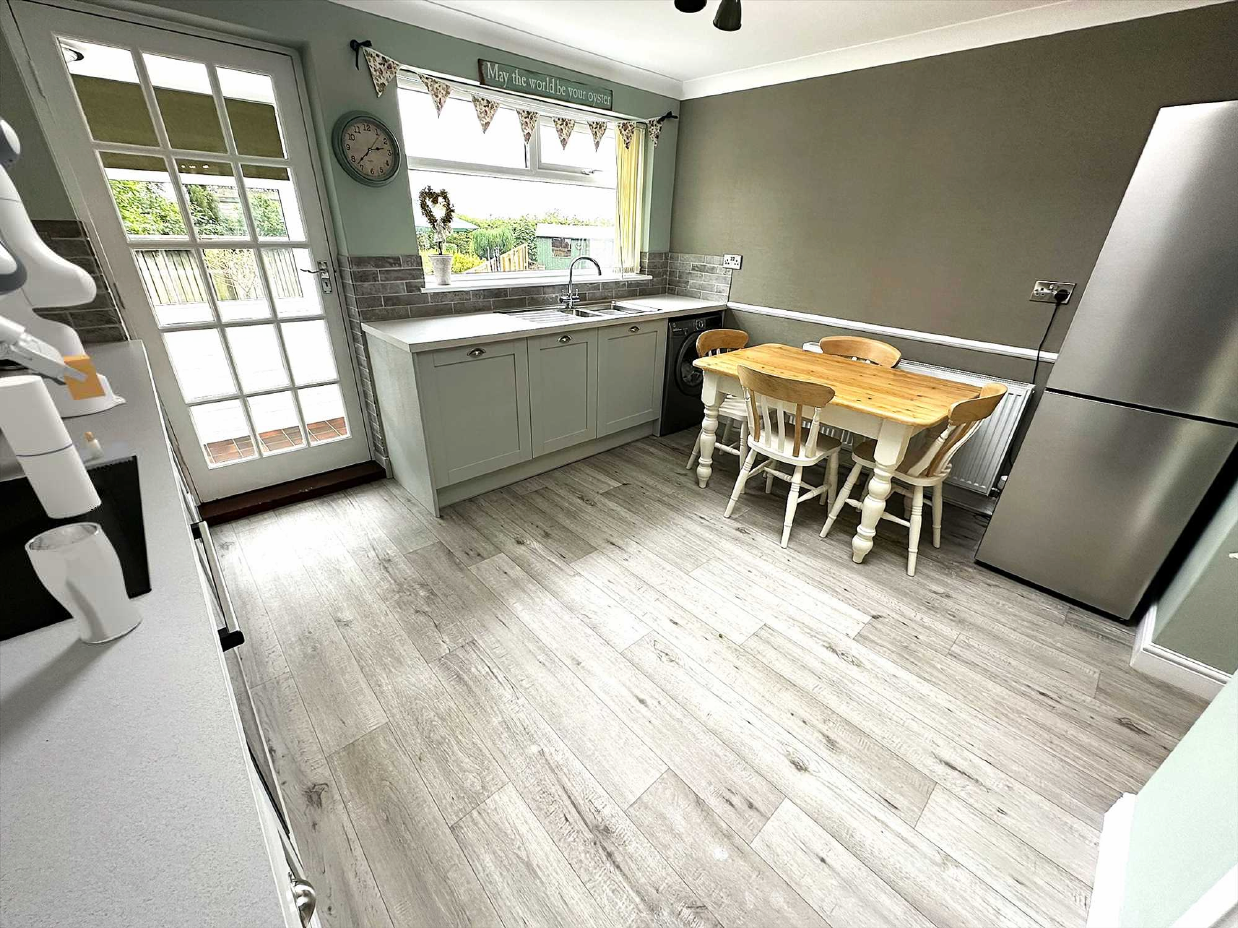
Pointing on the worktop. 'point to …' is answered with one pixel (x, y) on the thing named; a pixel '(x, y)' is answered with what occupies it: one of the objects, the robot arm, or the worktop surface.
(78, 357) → the orange rectangular block
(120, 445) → the plate
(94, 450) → the tan-tipped white capsule
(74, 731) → the worktop surface
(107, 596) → the beer glass
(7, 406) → the cylindrical container
